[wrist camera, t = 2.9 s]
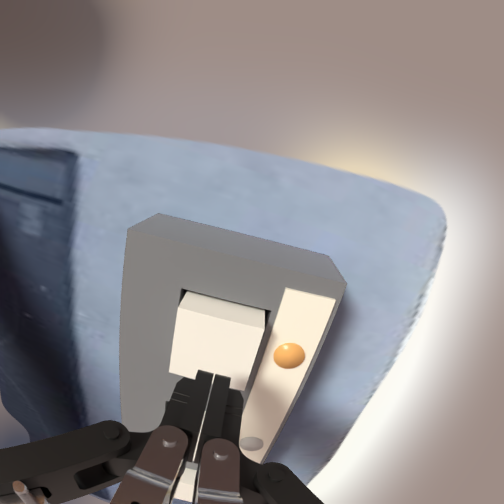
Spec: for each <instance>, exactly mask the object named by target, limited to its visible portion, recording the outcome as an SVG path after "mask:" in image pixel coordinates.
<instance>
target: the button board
mask: <svg viewBox="0 0 504 504" xmlns="http://www.w3.org/2000/svg"><path fill="white" fill-rule="evenodd" d="M346 285H347V283H346V281H345V280H344V278H343V277H342V275H341V273H340V272H339V270H338V269H337V267H336V266H335V264H334V263H333V261H332V260H331V258H330V257H329V256H327V255H324V254H320V253H316V252H312V251H308V250H304V249H301V248H297V247H293V246H289V245H285V244H281V243H277V242H273V241H269V240H265V239H261V238H257V237H253V236H249V235H245V234H241V233H237V232H233V231H229V230H225V229H221V228H217V227H213V226H209V225H205V224H201V223H197V222H193V221H189V220H185V219H180V218H176V217H172V216H168V215H164V214H160V213H158V214H156V215H154V216H152V217H150V218H148V219H146V220H144V221H142V222H140V223H138V224H136V225H134V226H132V227H130V228H128V231H127V239H126V248H125V257H124V267H123V279H122V293H121V310H120V341H119V370H120V401H121V417H122V424H123V425H124V426H125V427H126V428H127V429H128V431H129V432H150V431H153V430H154V429H156V428H157V427H158V426H159V425H160V423H161V421H162V418H163V416H164V413H165V411H166V408H167V406H168V403H169V401H170V399H171V396H172V393H173V391H174V388H175V386H176V383H177V382H178V381H180V380H181V379H182V378H183V377H184V376H181V375H177V374H174V373H170V372H169V367H170V360H171V352H172V344H173V337H174V330H175V323H176V317H177V310H178V306H179V305H180V303H181V301H182V299H183V298H184V296H185V294H186V292H187V291H188V290H190V291H194V292H198V293H201V294H205V295H209V296H213V297H217V298H221V299H225V300H229V301H233V302H237V303H241V304H245V305H249V306H253V307H258V308H262V309H265V329H264V333H263V336H262V339H261V342H260V345H259V348H258V351H257V354H256V357H255V360H254V363H253V366H252V369H251V372H250V375H249V378H248V381H247V384H246V387H245V390H244V391H242V390H238V391H240V392H241V394H242V396H243V399H244V403H243V412H242V421H241V429H240V438H239V447H240V450H241V452H242V453H243V454H244V455H245V456H246V457H247V458H249V459H250V460H252V461H255V462H257V463H259V464H262V465H263V463H264V461H265V460H266V458H267V456H268V454H269V452H270V451H271V449H272V447H273V445H274V444H275V442H276V440H277V438H278V436H279V434H280V432H281V431H282V429H283V427H284V425H285V423H286V421H287V419H288V417H289V415H290V413H291V411H292V409H293V407H294V405H295V403H296V401H297V399H298V397H299V395H300V393H301V391H302V389H303V387H304V385H305V383H306V381H307V379H308V376H309V374H310V372H311V370H312V368H313V366H314V363H315V361H316V359H317V357H318V354H319V352H320V350H321V348H322V345H323V343H324V341H325V338H326V336H327V333H328V331H329V329H330V326H331V324H332V321H333V319H334V316H335V314H336V311H337V309H338V306H339V304H340V301H341V299H342V296H343V293H344V291H345V288H346ZM186 378H188V377H186ZM190 379H192V378H190ZM193 380H195V379H193ZM212 385H213V384H211V388H210V393H211V389H212ZM230 389H233V388H230ZM234 390H237V389H234ZM210 393H209V397H210ZM209 397H208V401H209ZM208 401H207V405H208ZM207 405H206V409H207ZM206 409H205V411H206ZM186 468H189V469H193V470H197V468H198V464H196V463H194V461H192V462H188V461H187V464H186Z"/></svg>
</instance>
